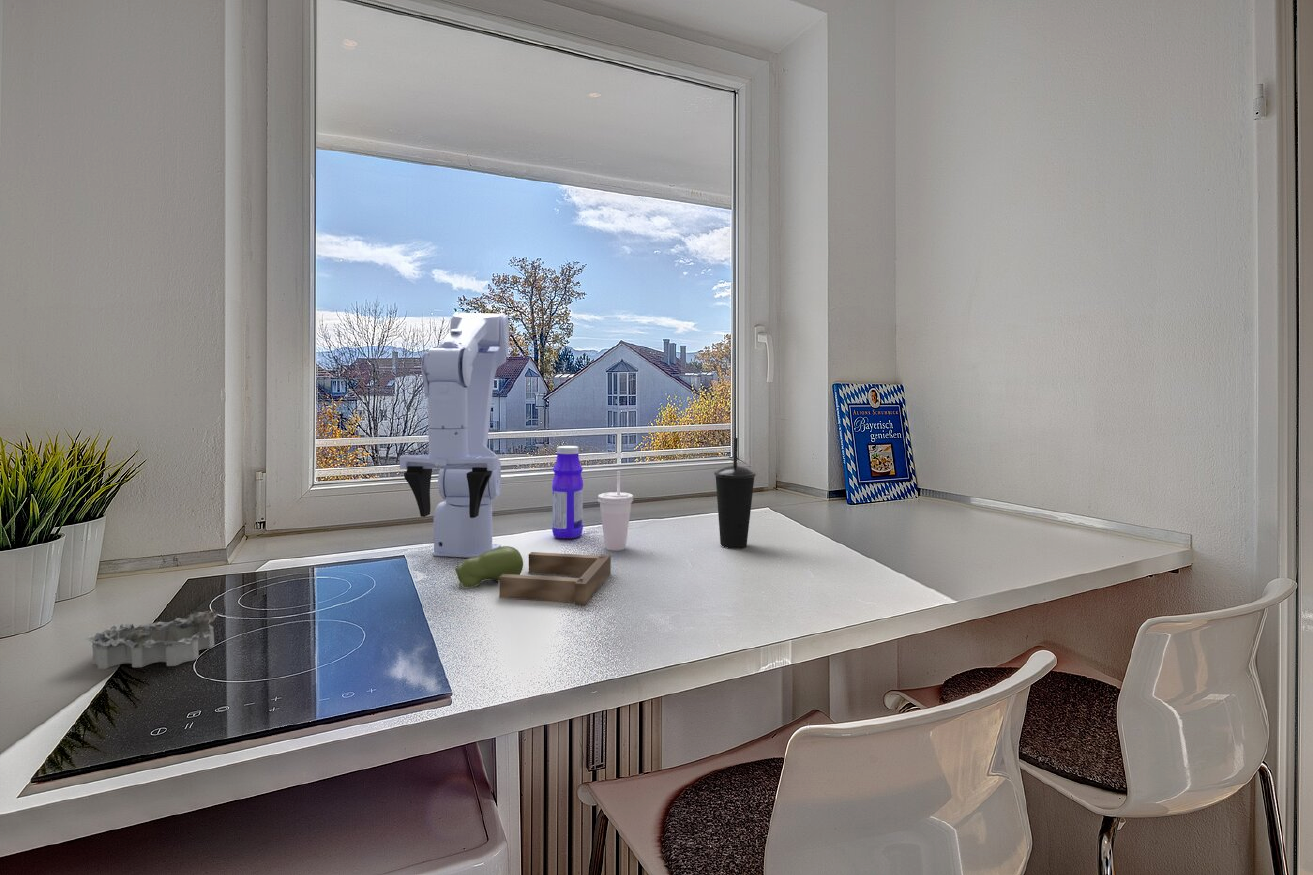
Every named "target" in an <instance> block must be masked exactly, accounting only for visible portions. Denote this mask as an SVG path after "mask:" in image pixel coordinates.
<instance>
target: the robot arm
mask: <svg viewBox="0 0 1313 875" xmlns="http://www.w3.org/2000/svg"><path fill="white" fill-rule="evenodd" d="M509 321H510V320H509V317H508V316H507V315H506V314H505V312H501V313H466V312H465V313H463V312H462V313H460V312H459V311H457V312H454V314H453V315H452V316H451V319H450V325H449V326H450V328H449V330H450V331H449V332H448V333H447V334H445V336H444V337H443V339H442V340H441V341H440V343H439V344H438V345H437V347H430V348H429V349H428V350H427V351H424V352H423V354H422V357H421V362H420V363H421V366H420V371H421V378H422V382H423V388H424V390H423V393H424V397H425V398H427V424H428V426H427V427H428V428H427V429H428V432H427V433H428V436H427V437H428V438H427V439H428V454H404V455H401V456H399V469H400V470H406V472H404V473H403V477H404V479H405V481H406V482H407V484H408V486H409V487H410V489H411V491H412V493H413V495H414V499H415V501H416V504H417V506H418V510H419V515H420V517H421V518H423V517H424V518H425V517H427V516H430V514H431V507H432V506H431V480H432V474H433V470H439V471H438V474H437V476H438V477H437V489H438V490H437V491H438V494H439V496H440V497H441V499H442V500H444V501H441V502H439V503H438V504H437V506H436V508H435V509H434V513H433V514H434V515H433V522H432V523H433V552H431V555H432V556H433V557H434V556H435V557H453V558H467V559H469V558H474V557H477V556H479V555H481V554H482V553H484V552H486V551H488V550H491V549H494V548H498V547H502V545H501V544H499V543H498V544H497V543H493V502H494V501H496V500H497V499H498V498H499V497H500V495H501V494H500V493H501V490H502V489H501V488H502V473H501V472H502V469H501V468H502V463H501V460H500V458H499V456H498V455H497V454H496V453H495V452H494V451H492V450H491V449H489V447H488V438H489V429H490V422H491V421H490V420H491V412H492V410H491V409H492V402H493V392H494V384H495V383H494V382H495V378H496V374H497V370H498V368H499V367H501V366H502V365H503V364H505V363H506V362H507V357H508V354H509V342H510V322H509Z"/></svg>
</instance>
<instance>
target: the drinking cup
mask: <svg viewBox="0 0 1313 875" xmlns="http://www.w3.org/2000/svg"><path fill="white" fill-rule="evenodd" d="M738 441H739V440H738V437H733V460H732V461H733V465H727V466H724V467H721V468H719V469H718V470H715V471H714V472H713V475H714V476H715V483H716V484H715V485H716V500H717V513H718V527H719V530H718V531H719V542H720V544H721V545H722V546H724V547H723V548H725V547H728V548H727V549H731V548H740V549H744V547H745V548H746V547H747V544H748V536H749V528H750V520H751V510H752V502H753V501H752V500H753V493H754V485H755V484H754V482H755V477H757V473H756V472H755V471H752V470H751V469H750V468H747V467H745V466H740V465H738V446H739V445H738ZM720 544H719V545H720ZM721 545H720V546H721ZM722 546H721V547H722Z"/></svg>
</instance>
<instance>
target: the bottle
mask: <svg viewBox="0 0 1313 875" xmlns="http://www.w3.org/2000/svg"><path fill="white" fill-rule="evenodd" d="M556 449H557V450H556V451H557V452H556V454H557V456H556V461H555V465H554V466H553V467H552V471H553V473H554V476H553V479H552V485H551V488H552V526H551V532H552V535H553V537H555V538H556V539H568V540H569V539H570V540H571V539H576V538H578V537H579V536H581V535H582V532H583V530H584V525H583V524H584V520H583V519H584V516H583V515H584V513H583V512H584V511H583V510H584V509H583V505H584V504H583V502H584V501H583V500H584V499H583V498H584V495H583V494H584V492H583V490H584V480H583V477H582V473H583V467H582V464H581V462H580V457H579V455H580V454H579V446H577V445H561V446H560V445H559V446H557V448H556Z"/></svg>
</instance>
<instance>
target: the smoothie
mask: <svg viewBox="0 0 1313 875" xmlns="http://www.w3.org/2000/svg"><path fill="white" fill-rule="evenodd" d="M597 498H598V499H597V502H599V507H600V509H599V510H600V517H601V526H602V532H603V541H604V548H605V550H607V551H615V552H616V551H617V552H618V551H624V550H626V548H627V547H626V545H627V541H628V540H627V539H628V531H629V523H630V515H631V511H632V510H631V508H632V503H633V502H634V494H632V493H630V492H629V493H628V492H621V471H620V470H617V471H616V491H614V492H602V493H599V494H598V496H597Z"/></svg>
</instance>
